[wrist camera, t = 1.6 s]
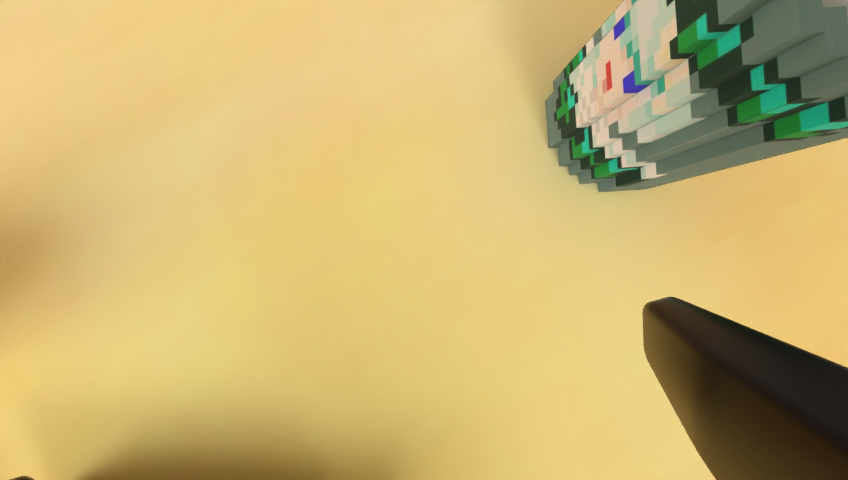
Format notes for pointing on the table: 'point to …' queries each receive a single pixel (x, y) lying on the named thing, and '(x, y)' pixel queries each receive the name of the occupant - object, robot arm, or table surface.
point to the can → (700, 89)
